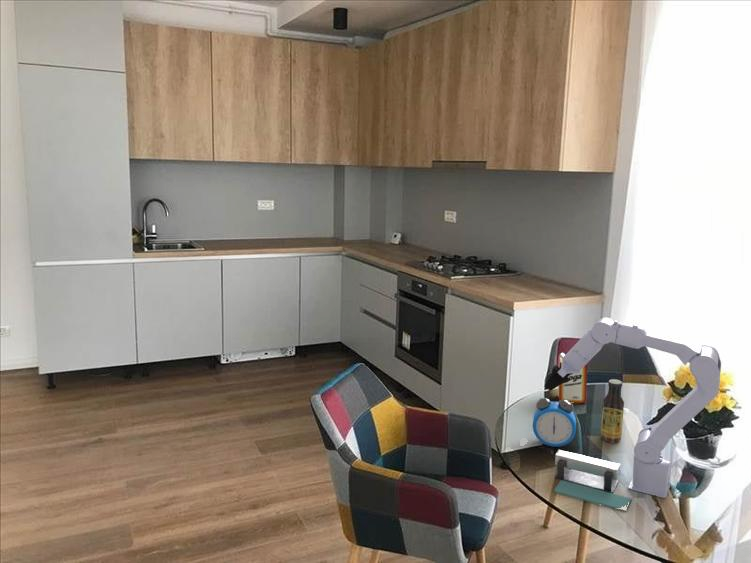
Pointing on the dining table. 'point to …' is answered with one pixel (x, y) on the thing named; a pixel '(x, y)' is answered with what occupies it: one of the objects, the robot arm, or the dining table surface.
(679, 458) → the dining table surface
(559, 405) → the alarm clock
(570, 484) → the teal mat
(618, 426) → the sauce bottle
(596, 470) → the steel rail
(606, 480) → the rail standards
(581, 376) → the baking soda box
